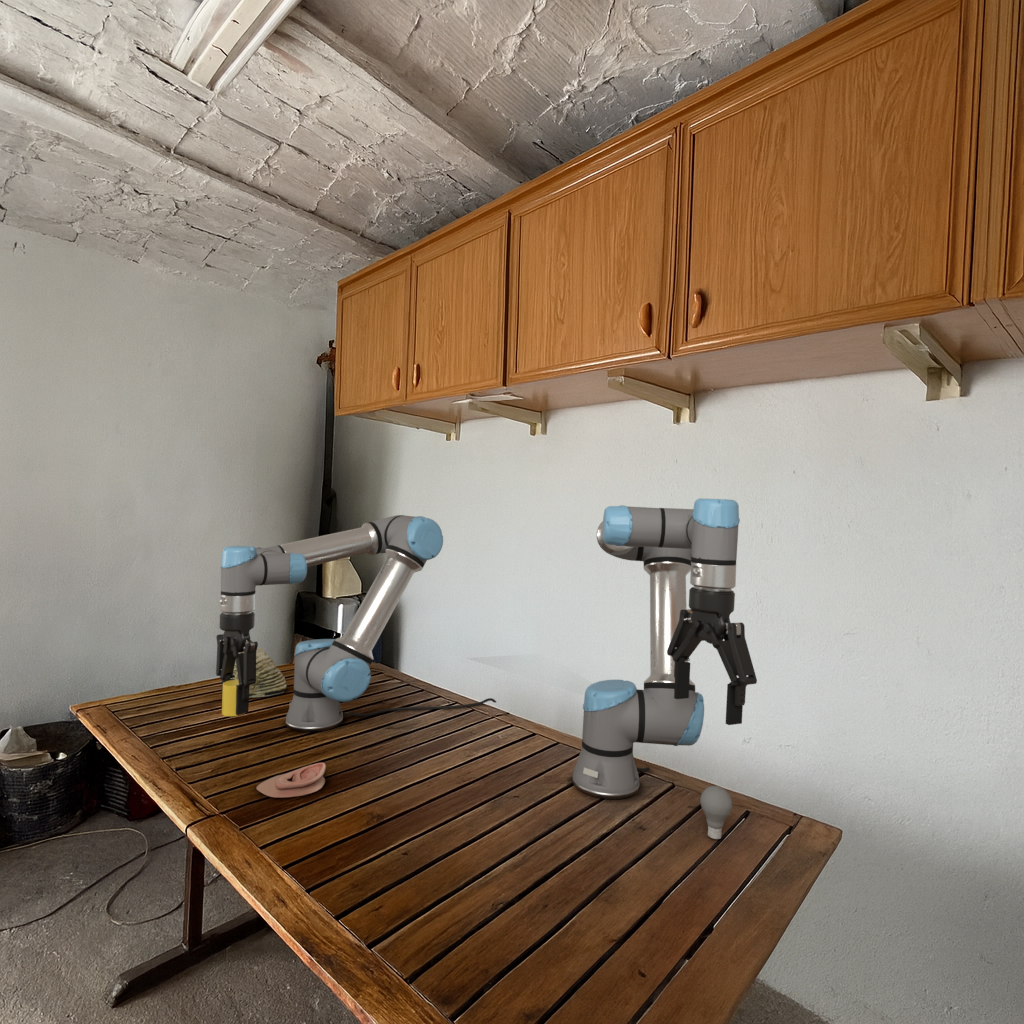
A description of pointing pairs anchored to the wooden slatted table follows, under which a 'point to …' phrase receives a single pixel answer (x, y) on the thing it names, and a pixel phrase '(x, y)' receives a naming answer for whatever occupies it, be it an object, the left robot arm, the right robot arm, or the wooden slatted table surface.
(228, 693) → the cylinder
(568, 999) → the wooden slatted table surface
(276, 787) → the anatomical model
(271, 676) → the fossil
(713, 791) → the light bulb
